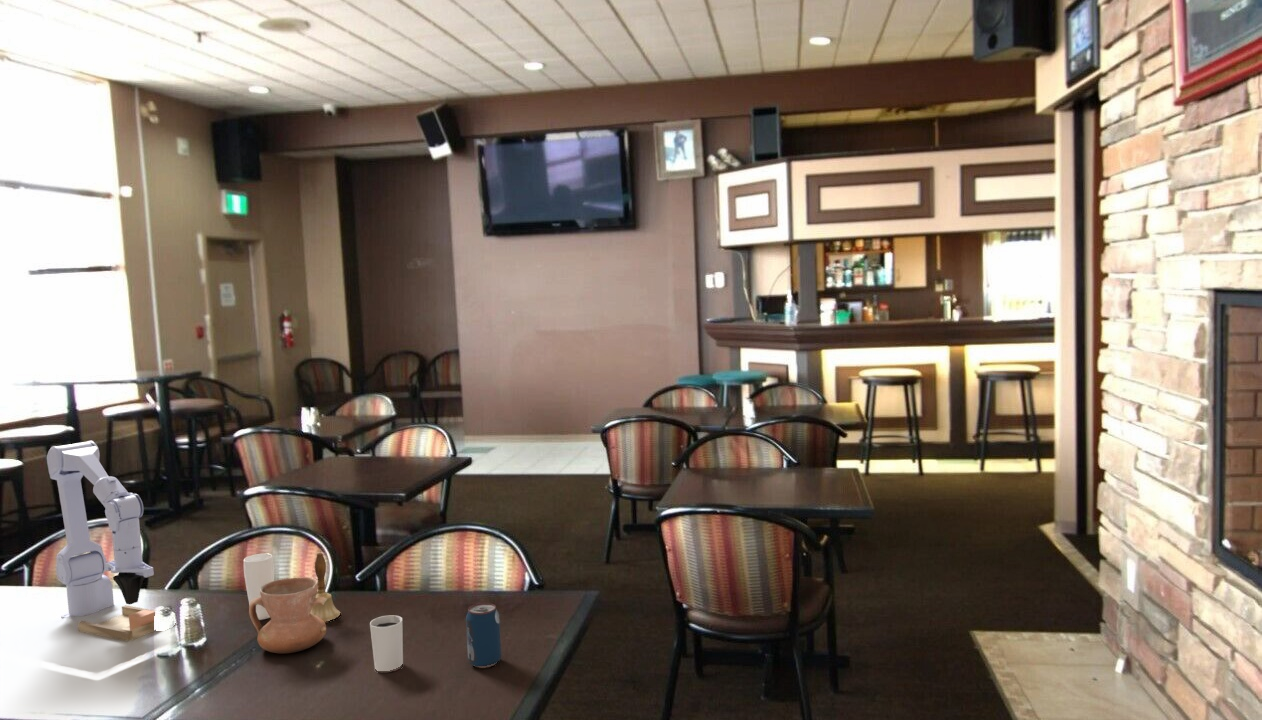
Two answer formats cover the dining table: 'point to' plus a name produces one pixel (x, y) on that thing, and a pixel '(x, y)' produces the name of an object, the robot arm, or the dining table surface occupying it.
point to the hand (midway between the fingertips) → (132, 602)
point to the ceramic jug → (289, 615)
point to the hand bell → (323, 593)
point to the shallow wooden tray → (118, 626)
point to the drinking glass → (258, 578)
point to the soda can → (483, 634)
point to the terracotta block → (141, 618)
